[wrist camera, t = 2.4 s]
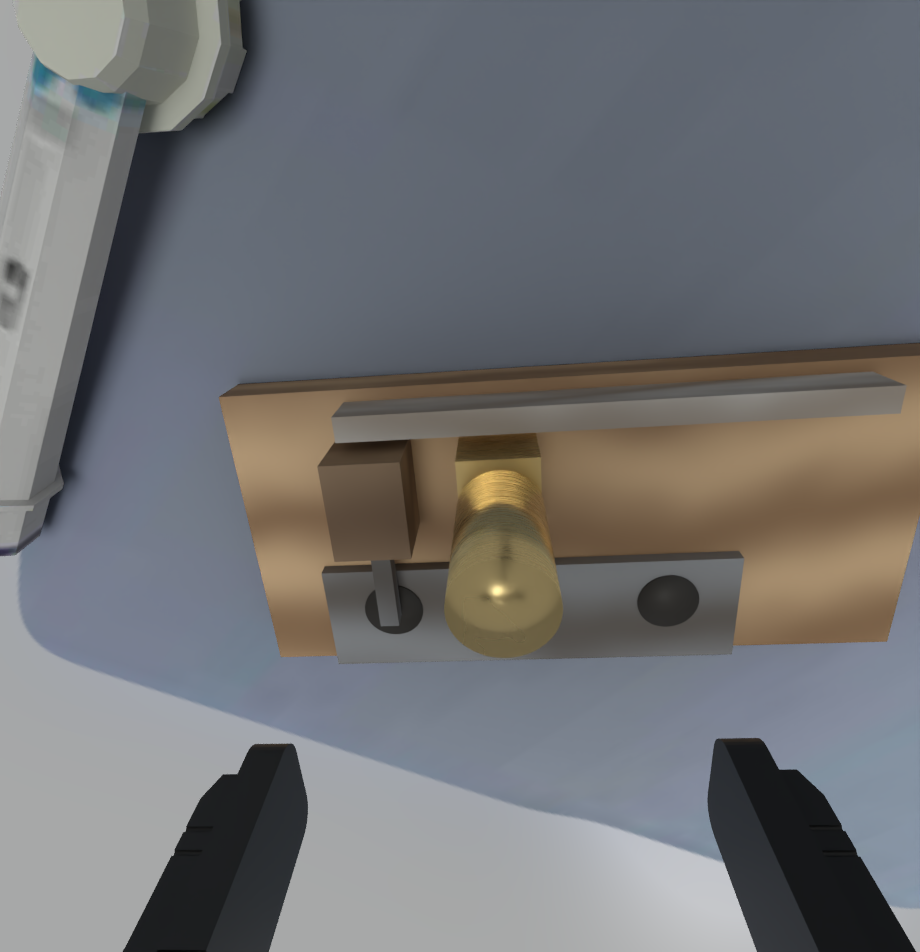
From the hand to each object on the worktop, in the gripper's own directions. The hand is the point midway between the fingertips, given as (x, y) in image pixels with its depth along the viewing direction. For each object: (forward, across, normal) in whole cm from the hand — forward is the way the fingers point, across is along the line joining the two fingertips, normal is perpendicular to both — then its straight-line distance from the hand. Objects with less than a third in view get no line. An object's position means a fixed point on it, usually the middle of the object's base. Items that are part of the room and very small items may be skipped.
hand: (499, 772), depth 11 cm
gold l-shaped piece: (+14, 0, +2) cm, 14 cm away
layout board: (+16, -3, +2) cm, 17 cm away
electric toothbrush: (+17, +16, -9) cm, 25 cm away
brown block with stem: (+14, +5, +2) cm, 15 cm away
